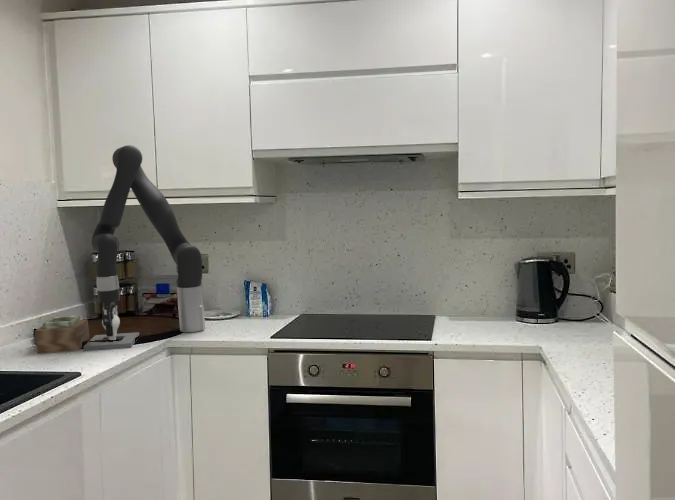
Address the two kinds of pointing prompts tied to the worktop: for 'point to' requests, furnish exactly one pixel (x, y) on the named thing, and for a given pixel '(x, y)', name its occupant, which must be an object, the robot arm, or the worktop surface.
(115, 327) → the lightbulb
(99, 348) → the frame
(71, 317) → the raised socket
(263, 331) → the worktop surface
